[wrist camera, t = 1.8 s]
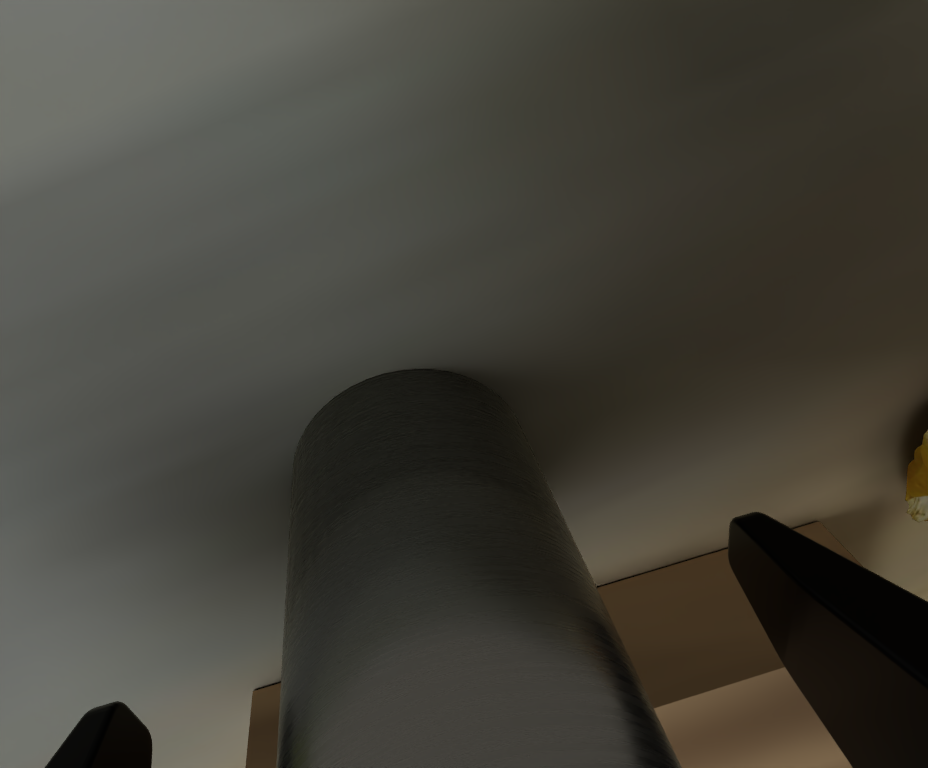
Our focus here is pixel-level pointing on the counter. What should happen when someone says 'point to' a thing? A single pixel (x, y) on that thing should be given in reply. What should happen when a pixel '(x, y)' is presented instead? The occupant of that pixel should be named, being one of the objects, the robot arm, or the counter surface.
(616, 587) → the dock
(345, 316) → the counter surface
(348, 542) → the grey and teal cylinder
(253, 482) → the counter surface
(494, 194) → the counter surface
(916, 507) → the fruit
